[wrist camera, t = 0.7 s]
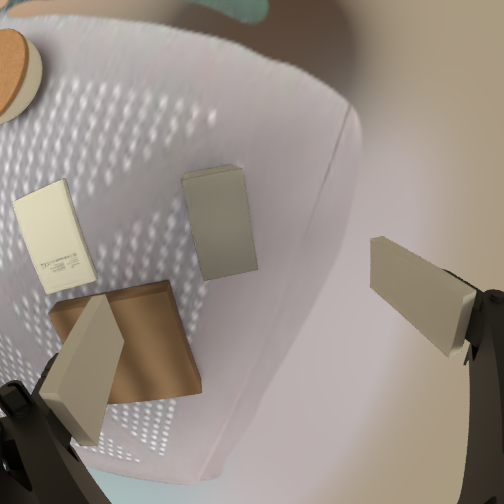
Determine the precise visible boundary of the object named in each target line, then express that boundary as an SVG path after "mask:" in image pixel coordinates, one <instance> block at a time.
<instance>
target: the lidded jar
mask: <svg viewBox="0 0 504 504" xmlns="http://www.w3.org/2000/svg"><path fill="white" fill-rule="evenodd" d="M41 78H42V60H41V56H40V54H39V52H38V50H37V49H36V47H35V46H34V44H33V43H32V42H30V41H29V40H28V39H27V38H25V37H24V36H23V35H22V34H21V33H19V32H18V31H16V30H14V29H2V30H0V124H2V123H5V122H8V121H10V120H12V119H13V118H15V117H16V116H18V115H19V114H20V113H22V112H23V111H24V110H25V109H26V108H27V106H28V105H29V104H30V103H31V101H32V100H33V98H34V97H35V95H36V93H37V91H38V89H39V86H40V83H41Z"/></svg>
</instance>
